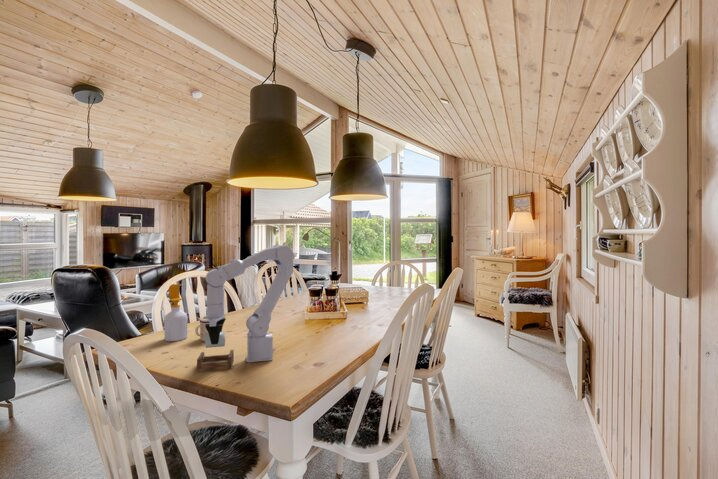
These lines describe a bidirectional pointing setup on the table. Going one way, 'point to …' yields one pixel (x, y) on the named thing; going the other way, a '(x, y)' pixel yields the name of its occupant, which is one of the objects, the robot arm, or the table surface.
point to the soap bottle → (175, 318)
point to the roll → (220, 343)
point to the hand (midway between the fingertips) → (215, 341)
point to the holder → (215, 362)
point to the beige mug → (202, 329)
